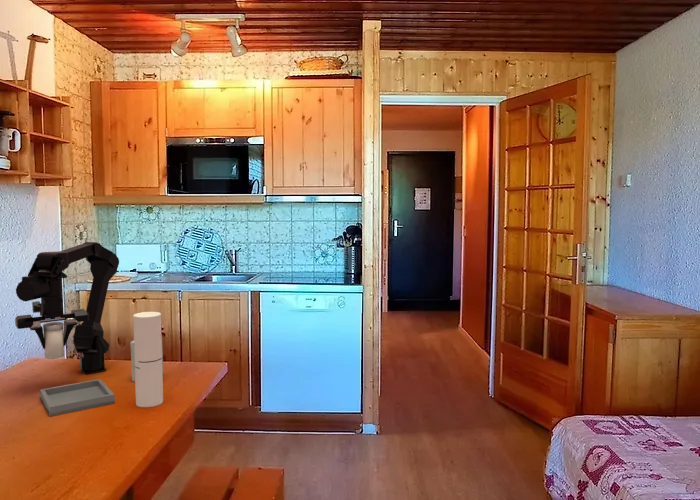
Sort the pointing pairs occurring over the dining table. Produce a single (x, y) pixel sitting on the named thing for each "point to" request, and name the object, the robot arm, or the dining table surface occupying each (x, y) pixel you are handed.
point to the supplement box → (134, 361)
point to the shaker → (53, 340)
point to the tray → (76, 397)
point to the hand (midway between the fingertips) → (54, 347)
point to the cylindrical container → (148, 359)
